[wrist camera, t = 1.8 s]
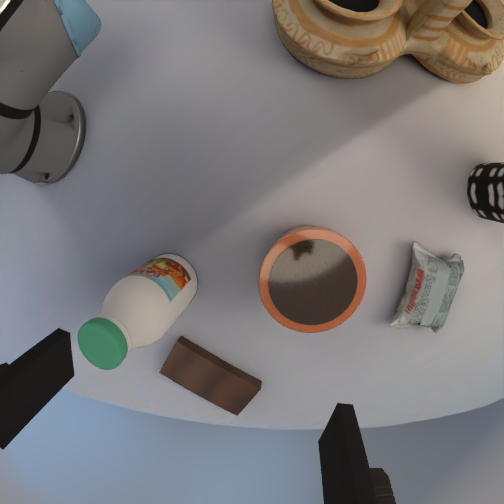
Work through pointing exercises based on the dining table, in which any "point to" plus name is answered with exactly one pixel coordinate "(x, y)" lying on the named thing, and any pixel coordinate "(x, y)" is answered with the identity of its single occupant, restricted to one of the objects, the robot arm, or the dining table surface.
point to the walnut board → (210, 376)
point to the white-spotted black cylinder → (487, 191)
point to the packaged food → (428, 290)
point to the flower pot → (312, 279)
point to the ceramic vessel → (394, 35)
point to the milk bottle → (138, 310)
